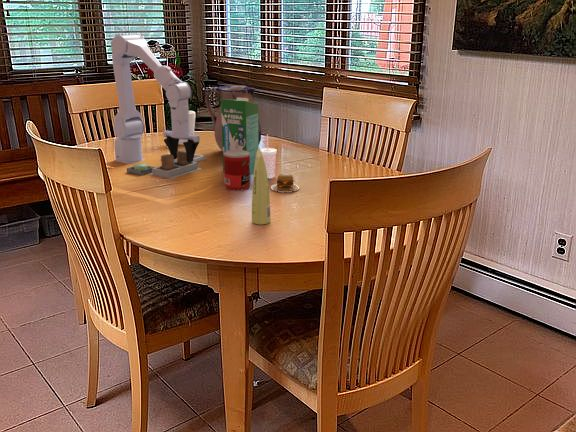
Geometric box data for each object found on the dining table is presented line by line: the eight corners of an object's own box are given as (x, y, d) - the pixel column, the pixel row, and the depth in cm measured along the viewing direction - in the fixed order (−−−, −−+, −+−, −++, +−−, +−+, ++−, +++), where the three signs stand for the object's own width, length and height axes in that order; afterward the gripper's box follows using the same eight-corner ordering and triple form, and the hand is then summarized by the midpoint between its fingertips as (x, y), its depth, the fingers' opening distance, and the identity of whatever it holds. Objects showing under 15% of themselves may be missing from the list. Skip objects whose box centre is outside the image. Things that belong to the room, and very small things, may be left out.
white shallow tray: (161, 162, 208) (161, 156, 207) (179, 156, 215) (179, 151, 215) (187, 167, 201) (187, 161, 201) (205, 161, 209) (205, 155, 208)
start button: (131, 174, 191) (130, 165, 190) (141, 171, 195) (140, 162, 194) (141, 176, 189) (140, 167, 188) (150, 173, 193) (150, 164, 192)
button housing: (127, 175, 191) (126, 168, 190) (141, 171, 196) (141, 164, 195) (141, 178, 188) (140, 171, 187) (155, 174, 193) (154, 167, 192)
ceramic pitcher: (259, 159, 213) (259, 90, 204) (202, 158, 213) (199, 90, 204) (262, 148, 229) (262, 84, 220) (209, 147, 229) (207, 83, 221)
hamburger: (261, 194, 175) (260, 177, 173) (271, 183, 185) (271, 167, 184) (299, 198, 172) (299, 180, 170) (307, 186, 183) (308, 170, 181)
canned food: (246, 191, 176) (246, 156, 172) (221, 189, 177) (220, 154, 173) (253, 184, 183) (252, 150, 179) (228, 182, 184) (227, 149, 180)
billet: (175, 169, 195) (174, 151, 193) (183, 166, 198) (182, 149, 196) (184, 170, 193) (183, 153, 191) (192, 168, 196) (191, 151, 194)
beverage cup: (260, 179, 188) (260, 137, 183) (256, 174, 193) (256, 133, 188) (278, 178, 189) (279, 136, 184) (274, 173, 195) (274, 132, 190)
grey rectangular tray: (148, 176, 190) (148, 168, 189) (180, 167, 202) (179, 158, 200) (171, 181, 185) (170, 172, 184) (202, 171, 196) (201, 162, 195)
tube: (245, 221, 151) (244, 148, 144) (259, 216, 154) (258, 145, 148) (261, 226, 147) (261, 152, 141) (275, 221, 151) (274, 148, 144)
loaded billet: (159, 174, 189) (158, 156, 187) (168, 171, 193) (167, 153, 190) (168, 175, 187) (167, 157, 185) (177, 173, 190) (176, 155, 188)
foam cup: (169, 145, 232) (167, 113, 228) (179, 141, 240) (177, 109, 236) (190, 147, 230) (188, 115, 225) (200, 142, 238) (199, 111, 233)
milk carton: (259, 169, 199) (258, 96, 190) (246, 176, 191) (245, 100, 183) (236, 166, 202) (234, 94, 194) (223, 173, 195) (220, 98, 186)
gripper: (155, 119, 190) (158, 159, 195) (188, 124, 183) (190, 166, 188) (170, 116, 196) (173, 155, 201) (203, 121, 189) (204, 161, 193)
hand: (182, 160), depth 194 cm, fingers open, 6 cm apart
